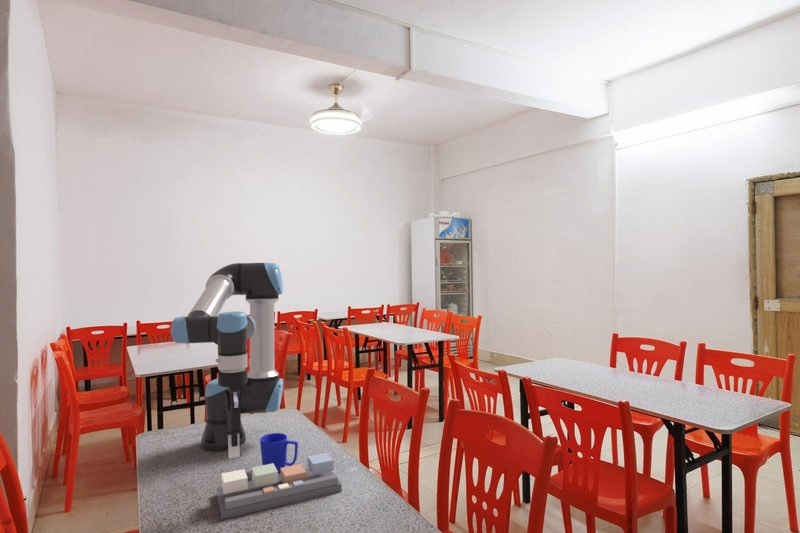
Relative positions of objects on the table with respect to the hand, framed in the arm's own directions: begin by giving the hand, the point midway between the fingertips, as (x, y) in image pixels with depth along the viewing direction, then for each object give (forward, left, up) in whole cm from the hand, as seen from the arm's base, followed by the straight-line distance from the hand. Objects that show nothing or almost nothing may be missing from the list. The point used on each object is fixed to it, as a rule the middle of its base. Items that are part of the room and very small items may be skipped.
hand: (234, 456), depth 128 cm
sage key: (0, +8, -8) cm, 12 cm away
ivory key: (0, 0, -8) cm, 8 cm away
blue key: (0, +24, -8) cm, 25 cm away
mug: (-15, +15, -13) cm, 25 cm away
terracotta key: (0, +16, -10) cm, 19 cm away
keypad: (0, +12, -13) cm, 18 cm away
